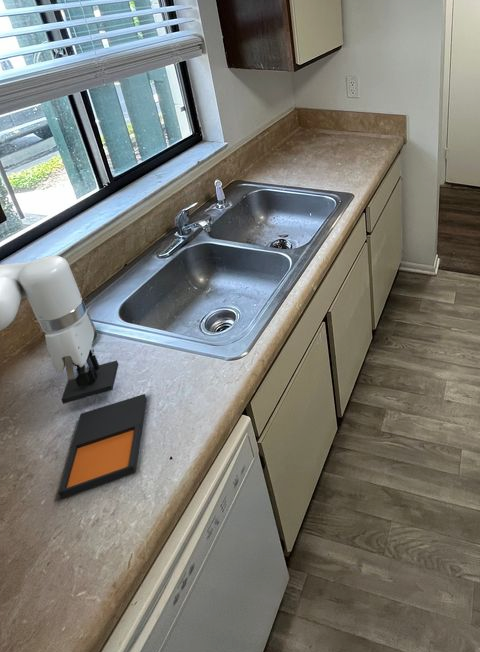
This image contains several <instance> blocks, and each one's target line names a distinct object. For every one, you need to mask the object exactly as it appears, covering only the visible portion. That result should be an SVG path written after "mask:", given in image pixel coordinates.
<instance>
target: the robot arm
mask: <svg viewBox="0 0 480 652" xmlns="http://www.w3.org/2000/svg"><path fill="white" fill-rule="evenodd" d="M23 299H27V300H28V303H29V305H30V307H31V309H32V311H33V314H34V316H35V318H36V320H37V322H38V324H39V327H40V329H41V331H42V332H43V333H45V334H44V337H45V343H46V348H47V351H48V354H49V356H50V359H51V360H50V361H51V362H52V365H53V367H54V370H55V372H56V373H57V374H62V373H63V372H64V370H65V372H66V377H67V381H68V380H72V379H75V380H76V382H77V385H78V386H84V385H87V384H91V383H94V382H95V381H96V378H95V375H94V373H93V371H92V368H91V367H88V364H87V361H86V360H87V358H88V355H89V357H90V359H91V361H92V364H93V366H94V369H95V371H96V370H98V369H99V367H100V366H99V365H100V364H99V362H98V359H97V356H96V355H95V349H94V347H93V345H92V342H93V338H94V330H93V327H92V324H91V322H90V320H89V317H88V315H87V311H88V308H87V306H86V305H85V301H84V299H83V297H82V295H81V291H80V289H79V287H78V284H77V281H76V279H75V277H74V274H73V271H72V269H71V266H70V264H69V262H68V261H67V259H65V258H64V257H62V256H59V255H48V256H43V257H39V258H37V259H35V260H33V261H27V262H26V261H25V262H16V263H15V262H14V263H4V264H0V332H1V331H3V330H4V329H6V328H7V327H9V326H10V325H11V324H12V322H13V321H14V320H15V318H16V317H17V314H18V311H19V308H20V305H21V301H22V300H23ZM83 301H84V302H83ZM85 306H86V307H85ZM78 365H79V367H81V368H77V367H76V366H78Z"/></svg>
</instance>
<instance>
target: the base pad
mask: <svg viewBox="0 0 480 652" xmlns="http://www.w3.org/2000/svg"><path fill="white" fill-rule="evenodd" d="M147 401H148V399H147V396H146V394H145V393H143V394H139V395H136V396H133V397H130V398H126V399H123V400H121V401H117V402H113V403H111V404H107V405H104V406H101V407H97V408H95V409H92V410H88V411H84V412H82V413H80V414H79V418H78V421H77V425H76V429H75V431H74V435H73V439H72V441H71V445H70V451H69V454H68V457H67V461H66V465H65V468H64V471H63V476H62V477H61V482H60V486H59V489H58V493H57V494H58V495H59V498H60V499H64V498H67V497H70V496H72V495H76V494H78V493H82V492H84V491H86V490H89V489H93V488H94V487H97V486H101V485H103V484H106V483H108V482H109V483H110V482H111V481H114V480H117V479H120V478H123V477H126V476H128V475H131V474H134V473H136V472H137V466H138V460H139V453H140V447H141V440H142V433H143V427H144V420H145V414H146V408H147Z"/></svg>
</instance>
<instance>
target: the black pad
mask: <svg viewBox="0 0 480 652" xmlns="http://www.w3.org/2000/svg"><path fill="white" fill-rule="evenodd" d="M86 361H87V364H88V367H91V368H92V371H93V373H94V375H95V378H96V381H95V382H94V383H91V384H87V385H84V386H78V385H77V382H76V380H75V379H72V380H68V379H67V382H66V385H65V388H64V391H63V394H62V396H61V402H62V404H63V405H65V404H68V403H71V402H76V401H80V400H83V399H85V398H88V397H89V398H90V397H93V396H96V395H100V394H103V393H107V392H110V391H113V390H114V386H115V381H116V377H117V373H118V368H119V362H118V360H113V361H109V362H105V363H101V364H99V366H100V367H99V369H98V370H96V371H95V369H94V366H93V364H92V361H91V359H90V357H89V355H88V358H87V360H86ZM77 368H81V367H79V365H78V366H76V369H77Z"/></svg>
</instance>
